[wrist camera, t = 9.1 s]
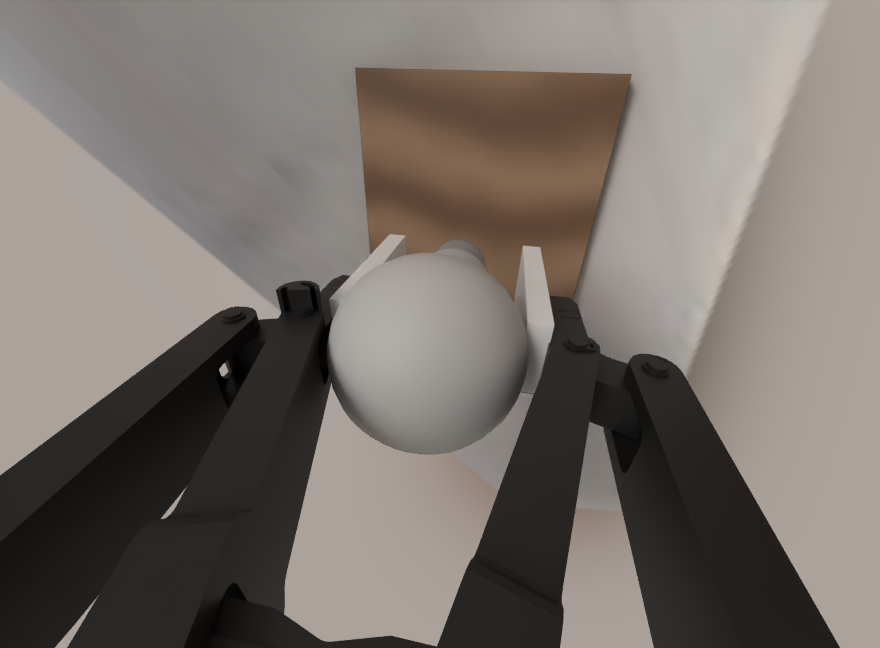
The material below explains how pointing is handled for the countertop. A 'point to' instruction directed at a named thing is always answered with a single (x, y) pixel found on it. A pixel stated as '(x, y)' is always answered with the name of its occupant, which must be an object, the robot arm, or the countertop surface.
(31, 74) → the countertop surface
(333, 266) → the countertop surface
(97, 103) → the countertop surface
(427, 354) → the lightbulb
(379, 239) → the plate
